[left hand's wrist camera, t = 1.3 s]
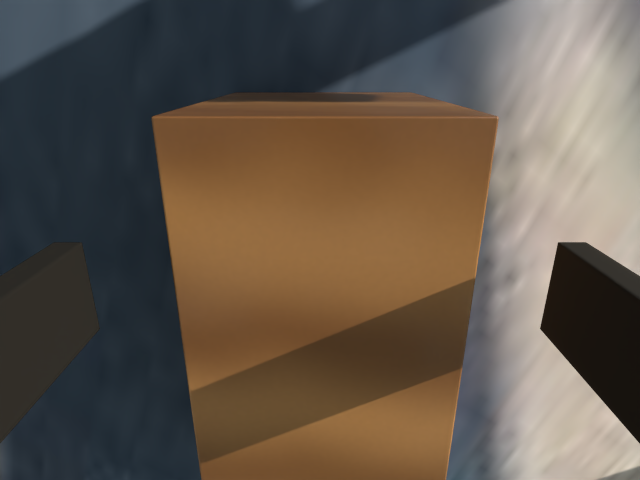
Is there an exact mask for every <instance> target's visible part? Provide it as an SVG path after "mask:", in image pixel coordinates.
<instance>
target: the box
mask: <svg viewBox="0 0 640 480" xmlns="http://www.w3.org/2000/svg"><path fill="white" fill-rule="evenodd" d="M151 119H152V126H153V134H154V141H155V148H156V155H157V162H158V170H159V177H160V184H161V191H162V199H163V206H164V213H165V220H166V228H167V235H168V242H169V249H170V257H171V264H172V271H173V278H174V286H175V293H176V300H177V307H178V315H179V322H180V329H181V336H182V344H183V351H184V358H185V365H186V373H187V380H188V387H189V394H190V401H191V409H192V416H193V423H194V430H195V438H196V445H197V452H198V459H199V467H200V474H201V480H446V475H447V468H448V461H449V454H450V447H451V441H452V434H453V427H454V420H455V413H456V406H457V400H458V393H459V386H460V379H461V372H462V365H463V359H464V352H465V345H466V338H467V331H468V324H469V318H470V311H471V304H472V297H473V290H474V283H475V277H476V270H477V263H478V256H479V249H480V242H481V236H482V229H483V222H484V215H485V208H486V201H487V195H488V188H489V181H490V174H491V167H492V160H493V154H494V147H495V140H496V133H497V126H498V119H499V118H498V117H497V116H494V115H491V114H487V113H483V112H480V111H476V110H473V109H469V108H465V107H462V106H458V105H455V104H451V103H447V102H444V101H440V100H436V99H433V98H429V97H426V96H422V95H418V94H415V93H370V92H369V93H368V92H235V93H232V94H228V95H225V96H221V97H218V98H214V99H211V100H208V101H204V102H201V103H197V104H194V105H190V106H187V107H183V108H180V109H176V110H173V111H169V112H166V113H162V114H159V115H155V116H152V118H151Z"/></svg>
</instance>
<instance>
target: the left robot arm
mask: <svg viewBox="0 0 640 480" xmlns="http://www.w3.org/2000/svg"><path fill="white" fill-rule="evenodd" d="M99 329H100V328H99V323H98V318H97V313H96V308H95V304H94V299H93V294H92V289H91V284H90V280H89V275H88V270H87V265H86V260H85V255H84V251H83V246H82V242H54V243H52V244H51V245H49V246H48V247H46V248H44V249H43V250H41V251H40V252H38V253H36V254H35V255H33V256H32V257H30V258H29V259H27V260H25V261H24V262H22V263H21V264H19V265H17V266H16V267H14V268H13V269H11V270H9V271H8V272H6V273H5V274H3V275H1V276H0V443H1V442H2V441H3V440H4V438H5V437H6V436H7V435H8V434H9V433H10V432H11V430H12V429H13V428H14V427H15V426H16V425H17V424H18V422H19V421H20V420H21V419H22V418H23V417H24V415H25V414H26V413H27V412H28V411H29V410H30V409H31V407H32V406H33V405H34V404H35V403H36V402H37V400H38V399H39V398H40V397H41V396H42V395H43V394H44V392H45V391H46V390H47V389H48V388H49V387H50V386H51V384H52V383H53V382H54V381H55V380H56V379H57V377H58V376H59V375H60V374H61V373H62V372H63V371H64V369H65V368H66V367H67V366H68V365H69V364H70V362H71V361H72V360H73V359H74V358H75V357H76V356H77V354H78V353H79V352H80V351H81V350H82V349H83V348H84V346H85V345H86V344H87V343H88V342H89V341H90V339H91V338H92V337H93V336H94V335H95V334H96V333H97V331H98V330H99ZM540 329H541V330H542V331H543V333H544V334H545V335H546V336H547V337H548V338H549V339H550V341H551V342H552V343H553V344H554V345H555V346H556V348H557V349H558V350H559V351H560V352H561V353H562V354H563V356H564V357H565V358H566V359H567V360H568V361H569V362H570V364H571V365H572V366H573V367H574V368H575V369H576V371H577V372H578V373H579V374H580V375H581V376H582V377H583V379H584V380H585V381H586V382H587V383H588V384H589V386H590V387H591V388H592V389H593V390H594V391H595V392H596V394H597V395H598V396H599V397H600V398H601V399H602V400H603V402H604V403H605V404H606V405H607V406H608V407H609V409H610V410H611V411H612V412H613V413H614V414H615V415H616V417H617V418H618V419H619V420H620V421H621V422H622V424H623V425H624V426H625V427H626V428H627V429H628V430H629V432H630V433H631V434H632V435H633V436H634V437H635V438H636V440H637V441H638V442H639V443H640V276H639V275H637V274H635V273H634V272H632V271H631V270H629V269H627V268H626V267H624V266H623V265H621V264H619V263H618V262H616V261H615V260H613V259H611V258H610V257H608V256H607V255H605V254H604V253H602V252H600V251H599V250H597V249H596V248H594V247H592V246H591V245H589V244H588V243H586V242H558V246H557V251H556V255H555V260H554V265H553V270H552V275H551V280H550V284H549V289H548V294H547V299H546V304H545V308H544V313H543V318H542V323H541V328H540Z"/></svg>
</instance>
